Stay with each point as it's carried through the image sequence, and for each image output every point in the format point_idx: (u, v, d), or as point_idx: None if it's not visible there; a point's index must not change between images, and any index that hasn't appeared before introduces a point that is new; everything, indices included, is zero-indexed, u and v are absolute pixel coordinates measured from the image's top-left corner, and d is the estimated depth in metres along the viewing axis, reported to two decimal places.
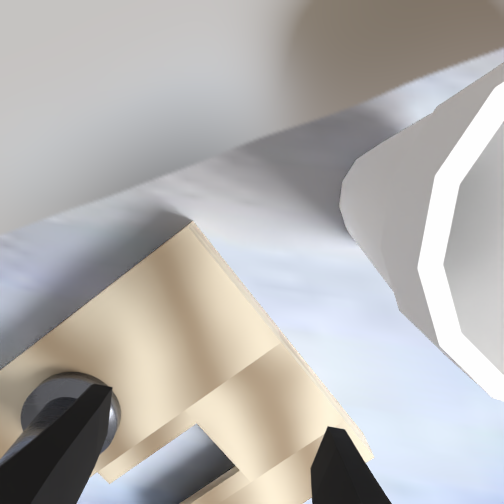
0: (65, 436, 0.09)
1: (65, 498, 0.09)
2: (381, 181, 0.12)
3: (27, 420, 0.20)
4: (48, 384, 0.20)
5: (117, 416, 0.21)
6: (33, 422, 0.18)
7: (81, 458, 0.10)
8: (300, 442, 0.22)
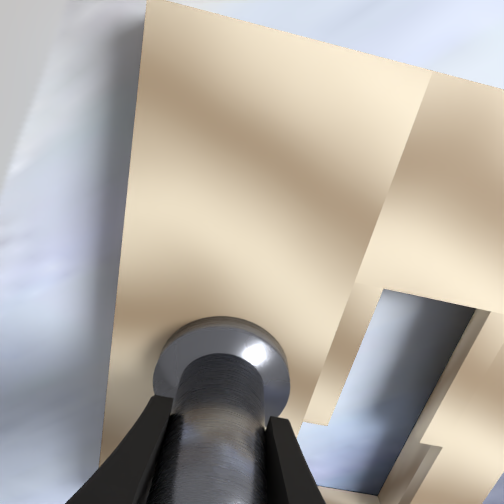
0: (142, 449, 0.09)
1: None
2: None
3: None
4: (161, 359, 0.13)
5: (273, 344, 0.14)
6: None
7: (151, 470, 0.10)
8: None
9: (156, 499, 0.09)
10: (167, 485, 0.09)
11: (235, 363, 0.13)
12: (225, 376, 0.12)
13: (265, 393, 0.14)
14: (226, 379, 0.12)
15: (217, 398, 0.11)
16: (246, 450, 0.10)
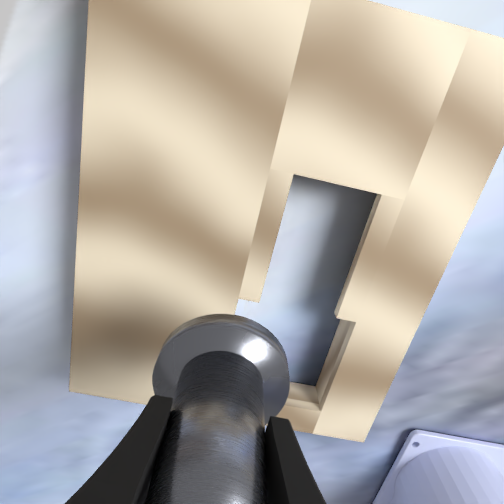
0: (142, 449, 0.09)
1: None
2: None
3: None
4: (160, 358, 0.13)
5: (271, 341, 0.14)
6: None
7: (151, 469, 0.10)
8: (431, 105, 0.15)
9: (154, 496, 0.09)
10: (165, 482, 0.09)
11: (233, 360, 0.13)
12: (223, 373, 0.12)
13: (265, 390, 0.14)
14: (224, 376, 0.12)
15: (215, 396, 0.11)
16: (243, 446, 0.10)
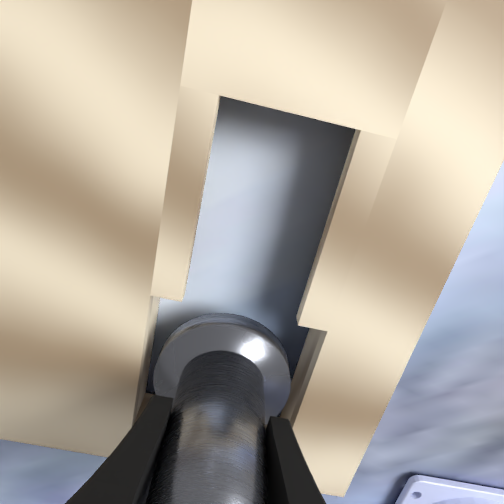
0: (142, 449, 0.09)
1: None
2: None
3: None
4: (160, 359, 0.13)
5: (270, 339, 0.13)
6: None
7: (152, 470, 0.10)
8: None
9: (154, 496, 0.09)
10: (165, 482, 0.09)
11: (233, 360, 0.13)
12: (223, 373, 0.12)
13: (266, 388, 0.14)
14: (224, 376, 0.12)
15: (215, 395, 0.11)
16: (243, 445, 0.10)
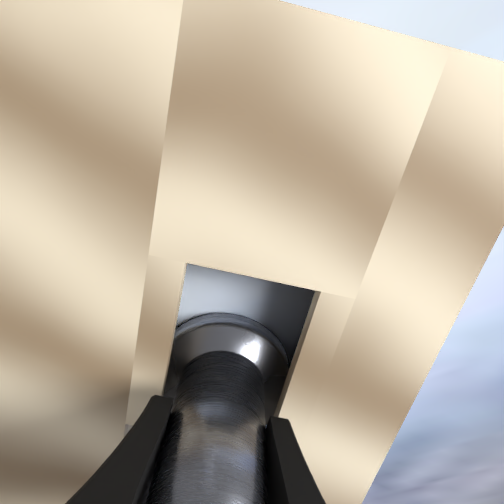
0: (142, 449, 0.09)
1: None
2: None
3: None
4: None
5: (270, 339, 0.13)
6: None
7: (151, 470, 0.10)
8: (390, 165, 0.10)
9: (154, 497, 0.09)
10: (165, 482, 0.09)
11: (233, 360, 0.13)
12: (223, 373, 0.12)
13: (266, 389, 0.14)
14: (224, 376, 0.12)
15: (215, 396, 0.11)
16: (243, 445, 0.10)
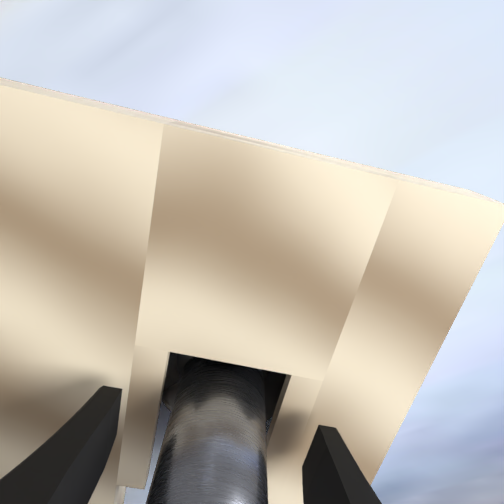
0: (77, 438, 0.09)
1: (77, 500, 0.09)
2: None
3: None
4: None
5: None
6: (172, 407, 0.12)
7: (92, 460, 0.10)
8: (349, 273, 0.11)
9: (157, 489, 0.09)
10: (167, 474, 0.09)
11: None
12: (224, 369, 0.12)
13: (266, 385, 0.14)
14: (225, 372, 0.12)
15: (216, 391, 0.11)
16: (244, 439, 0.10)
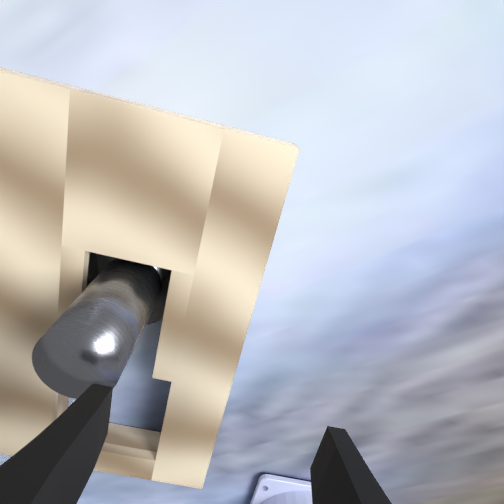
0: (65, 436, 0.09)
1: (65, 498, 0.09)
2: None
3: None
4: None
5: None
6: None
7: (81, 458, 0.10)
8: (201, 194, 0.16)
9: (60, 316, 0.15)
10: (67, 309, 0.15)
11: None
12: (125, 265, 0.18)
13: (163, 286, 0.20)
14: (125, 267, 0.18)
15: (113, 274, 0.17)
16: (124, 296, 0.16)
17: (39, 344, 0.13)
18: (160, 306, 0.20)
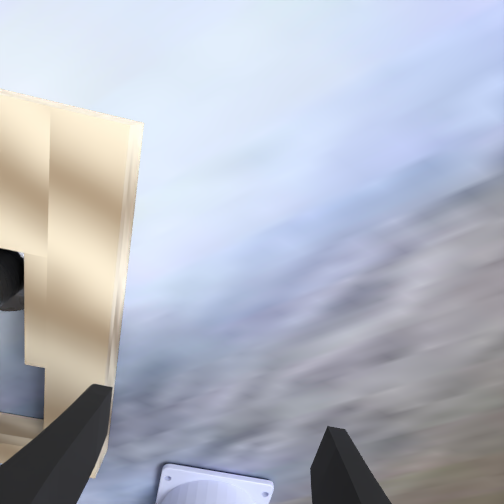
0: (65, 436, 0.09)
1: (65, 498, 0.09)
2: None
3: None
4: None
5: None
6: None
7: (81, 458, 0.10)
8: (39, 173, 0.16)
9: None
10: None
11: None
12: None
13: None
14: None
15: None
16: None
17: None
18: None
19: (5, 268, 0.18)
